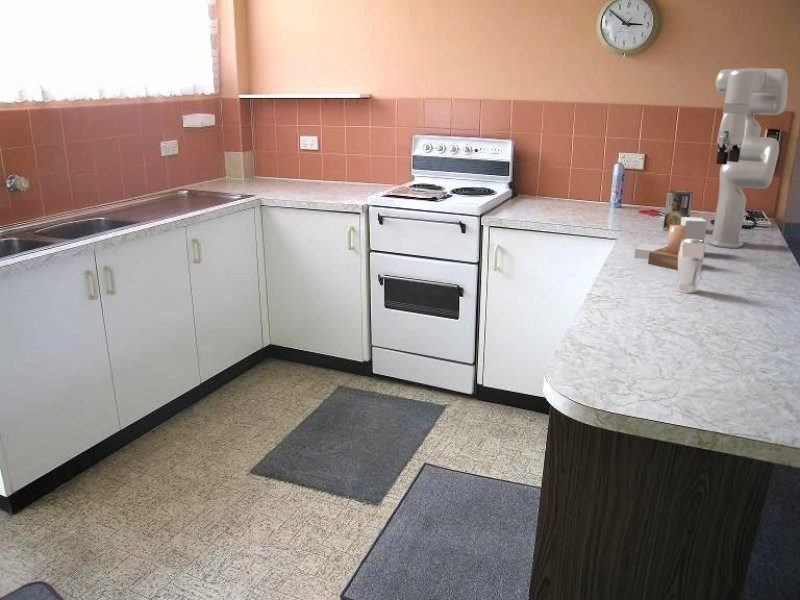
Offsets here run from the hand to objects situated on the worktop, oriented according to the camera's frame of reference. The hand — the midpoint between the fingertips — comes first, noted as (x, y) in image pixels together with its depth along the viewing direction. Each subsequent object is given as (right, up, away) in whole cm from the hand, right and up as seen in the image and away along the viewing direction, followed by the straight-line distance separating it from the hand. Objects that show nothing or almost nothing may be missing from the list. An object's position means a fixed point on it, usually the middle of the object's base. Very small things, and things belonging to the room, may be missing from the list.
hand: (727, 162), depth 222 cm
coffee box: (+5, -17, +55) cm, 58 cm away
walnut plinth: (-17, -34, +3) cm, 38 cm away
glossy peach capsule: (-17, -30, +2) cm, 34 cm away
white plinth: (-20, -30, +14) cm, 39 cm away
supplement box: (-5, -29, +18) cm, 35 cm away
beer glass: (-24, -43, -25) cm, 55 cm away
